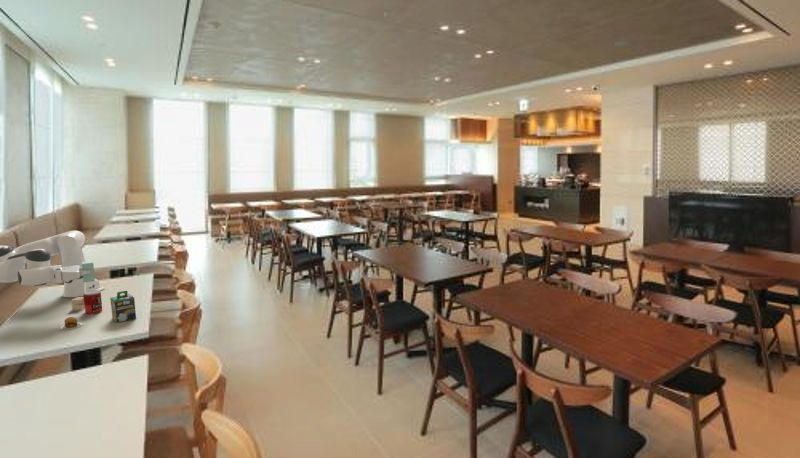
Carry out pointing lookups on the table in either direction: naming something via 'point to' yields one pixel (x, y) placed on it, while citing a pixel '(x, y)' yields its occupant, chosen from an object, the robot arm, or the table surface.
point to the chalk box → (123, 307)
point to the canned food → (92, 301)
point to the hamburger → (71, 323)
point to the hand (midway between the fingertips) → (90, 270)
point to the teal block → (90, 267)
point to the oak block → (78, 303)
